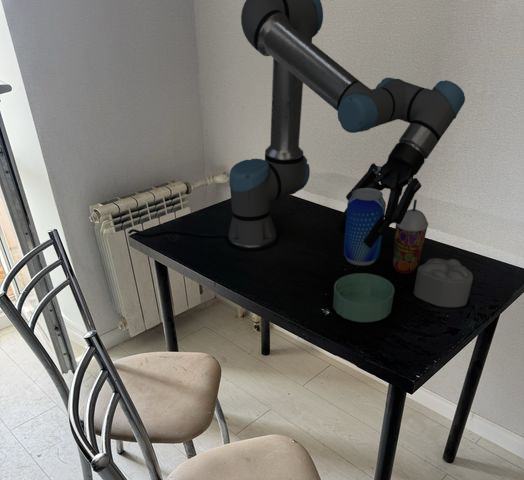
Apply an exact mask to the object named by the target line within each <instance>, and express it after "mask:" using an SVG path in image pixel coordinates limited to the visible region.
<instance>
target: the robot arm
mask: <svg viewBox="0 0 524 480" xmlns="http://www.w3.org/2000/svg"><path fill="white" fill-rule="evenodd" d="M240 22H241V23H240V25H241V29H242V32H243V34H244V37H245V39H246V40H247V42H248V43H249V44H250V45H251V47H252V48H253V49H255V50H256V51H257V52H258V53H260V54H261V56H263V57H271V58H272V78H271V80H272V81H271V107H270V108H271V110H270V111H271V113H270V141H269V142H270V143H269V145H268V146H267V147H266V149H265V150H264V159H262V158H251V159H244V160H241V161H239V162H237V163H235V164H234V165H233V166H232V167H231V168H230V171H229V181H228V182H229V183H228V185H229V190H230V191H229V192H230V204H231V215H232V217H231V222H230V225H229V229H228V232H217V233H202V232H196V231H190V230H182V229H162V230H158V231H154V232H142V231H141V230H138V229H134V228H132V229H130V230H129V231H128V232H127V234H129V235H130V234H132V233H136V234H139V235H141V236H145V237H152V236H153V237H154V236H158V235H162V234H166V233H179V234H185V235H193V236H198V237H205V238H215V237H223V236H225V237H226V236H227V239H228V244H229V245H230V246H231V247H234V248H235V249H240V250H244V251H255V250H263V249H266V248H269V247H271V246H272V245H274V244H275V243H276V241H277V230H276V227H275V224H274V222H273V219H272V216H271V203H272V202H274V201H277V200H279V199H282V198H284V197H287V196H292V195H294V194H296V193H297V192H299V191H301V190H302V189H304V188H305V186H307V184H308V183H309V182H308V181H309V179H310V174H311V169H310V164H309V163H308V159H307V158H306V156H305V154H304V150H303V149H302V148H301V147H300V136H301V123H302V110H303V109H302V106H303V96H304V95H303V94H304V93H303V92H304V85H305V86H306V87H308V88H309V89H310V90H311V91H312V92H314V93H315V94H316V95H317V96H319V97H320V98H321V99H322V100H323V101H325V102H326V103H327V104H328V105H329V106H331V107H332V108H333V109H334V110H335V111H337V120H338V122H339V124H340V126H341V128H342V129H343V130H344V131H345V132H347V133H350V134H357V133H362V132H366V131H370V130H371V129H373V128H376V127H379V126H381V125H385V124H388V123H391V122H394V121H397V120H398V121H403V122H406V123H408V124H409V125H408V126H407V128H406V129H405V131H404V132H403V133H402V134H401V136H400V138H399V139H398V142H397V143H396V144H395V145H394V147H393V148H392V149H391V151H390V153H389V154H388V156H387V160H386V162H385V163H384V164H383V165H381V166H380V165H376V163H374V162H373V163H371V164H370V166H369V168H368V170H367V171H366V172H365V174H364V175H363V176H361V178H360V179H359V180H358V182H357V183H356V184H355V185H354V186H353V187H352V188H351V189H350V191H349V192H348V193H347V194H346V196H345V199H346V200H347V202H348V201H349V199H350V198H351V196H352V193H353V191H355V190H357V189H360V188H373V189H377V190H379V191H381V192H382V191H384V189H386V190H389V191H390V192H389V195H388V199H387V200H388V201H387V204H386V208H385V215H383V217H384V218H382V217H380V218H379V220H378V221H377V222H376V224H375V225H374V227H373V228H372V230H371V231H370V233H369V234H368V236H367V237H366V239H365V240H364V241H363V242H364V243H365V244H366V245H367V246H368V247H369V248H372V246H373V245H374V243H375V242H376V240H377V239H378V237H379V236H380V235H381V236H382V237H383V236H384V234H385V233H386V232H387V230H388V229H389V228H390V226H391V225H392V224H396V223H397V224H400V223H401V222H402V220H403V218H404V216H405V214H406V212H407V210H409V208H410V205H411V204H412V202H413V200H414V197H415V195H416V193H417V192H418V191H419V190H420V189H422V183H420V181H419V179H418V178H417V177H415V176H416V175H417V174H418V173H419V172H420V170H421V169H422V167H423V166H424V164H425V161H426V160H427V159H428V158H429V156H430V155H431V153H432V152H433V150H434V149H435V147H436V146H437V144H438V143H439V142H440V139H441V138H442V137H443V135H444V134H445V133H446V131H447V130H448V128H449V127H450V126H451V124H453V121H454V120H455V119H456V118H457V116H458V114H459V112H460V111H461V109H462V107H463V106H464V104H465V102H466V96H465V92H464V90H463V89H462V88H461V87H460V86H459V85H458V84H456V83H455V82H453V81H451V80H439V81H438V82H437V83H436V84H435V85H434V86H433V87H432V89H430V88H427V87H426V88H425V87H423V86H419V85H416V84H413V83H410V82H408V81H404V80H403V79H401V78H394V77H385V78H383V79H382V80H381V81H380V82H379V83H377V85H376V87H375V88H370V87H369V86H367V85H366V84H364V83H363V82H362V81H360V80H359V79H358V78H356V77H355V76H354V75H353V74H351V72H349V71H348V70H347V69H345V68H344V67H343V66H342V65H340V64H339V63H338V62H337V61H336V60H334V59H333V58H332V57H331V56H329V55H328V54H326V52H324V51H323V50H322V49H321V48H320V47H318V46H317V45H315V44H314V43H313V38H314V37H315V36H317V34H318V33H319V31H320V30H321V28H322V25H323V22H324V8H323V5H322V2H321V0H245V1H244V3H243V6H242V9H241V15H240ZM404 187H405V189H404ZM403 189H404V191H403ZM341 216H342V218H341V219H340V221H339V222H338V223H337V225H336V226H335V229H336V230H337V231H338V232H339V233H340V234H342V235H345V228H346V216H347V207H346V209H345V210H344V211H343V212H342V215H341Z"/></svg>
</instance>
